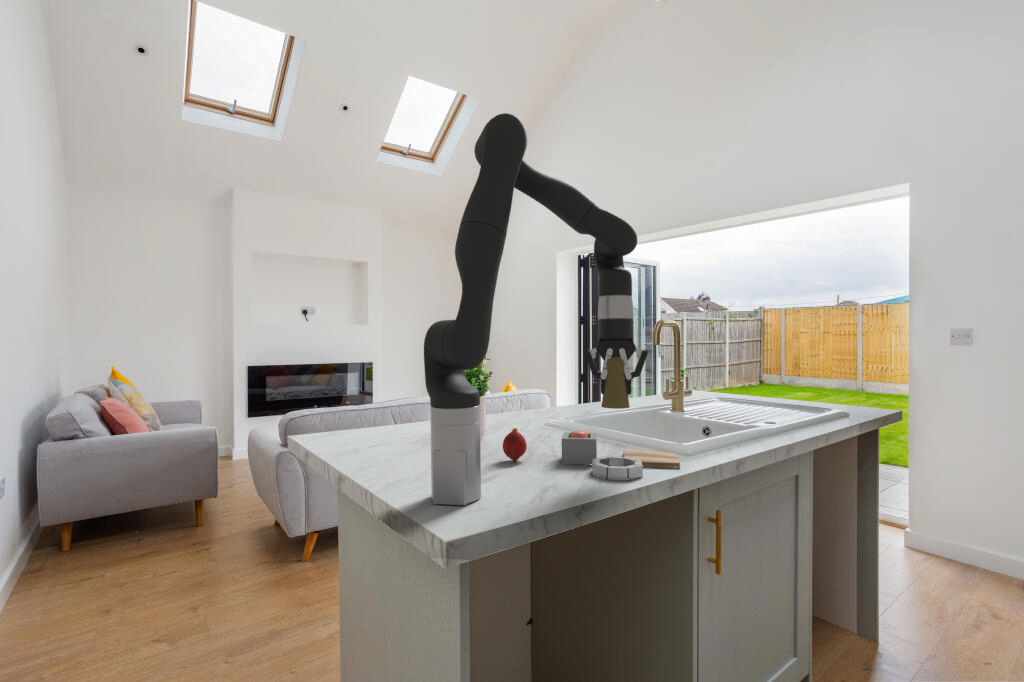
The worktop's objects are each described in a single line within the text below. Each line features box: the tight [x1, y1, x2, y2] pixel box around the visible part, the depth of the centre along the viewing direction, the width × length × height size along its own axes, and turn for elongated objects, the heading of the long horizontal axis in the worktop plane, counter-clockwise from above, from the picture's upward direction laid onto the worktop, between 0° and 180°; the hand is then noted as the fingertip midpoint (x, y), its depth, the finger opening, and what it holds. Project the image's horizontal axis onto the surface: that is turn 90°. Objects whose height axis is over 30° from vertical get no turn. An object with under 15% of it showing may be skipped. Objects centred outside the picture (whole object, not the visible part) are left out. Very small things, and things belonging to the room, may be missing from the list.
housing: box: [561, 431, 598, 465], centre depth 121 cm, size 8×8×6 cm
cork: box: [601, 357, 630, 410], centre depth 109 cm, size 6×6×11 cm
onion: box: [502, 427, 528, 462], centre depth 122 cm, size 6×6×8 cm
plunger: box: [570, 430, 589, 438], centre depth 121 cm, size 4×4×6 cm
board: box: [622, 449, 681, 469], centre depth 120 cm, size 12×12×1 cm
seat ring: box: [591, 455, 644, 481], centre depth 110 cm, size 10×10×2 cm
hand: (616, 396), depth 109 cm, fingers closed on cork, 3 cm apart
